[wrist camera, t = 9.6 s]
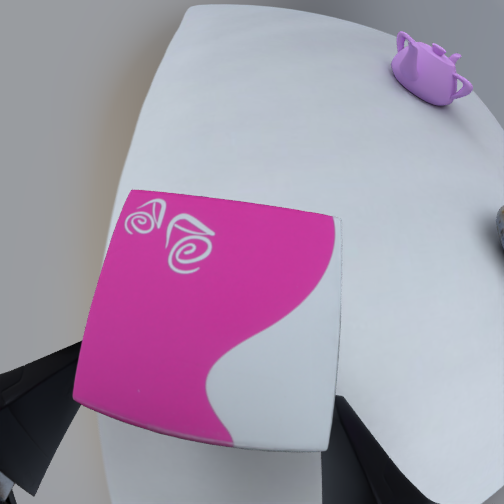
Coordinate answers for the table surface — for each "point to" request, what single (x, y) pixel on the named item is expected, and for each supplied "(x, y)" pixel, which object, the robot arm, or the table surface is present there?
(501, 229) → the seashell
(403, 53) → the teapot
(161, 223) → the supplement box
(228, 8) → the table surface
